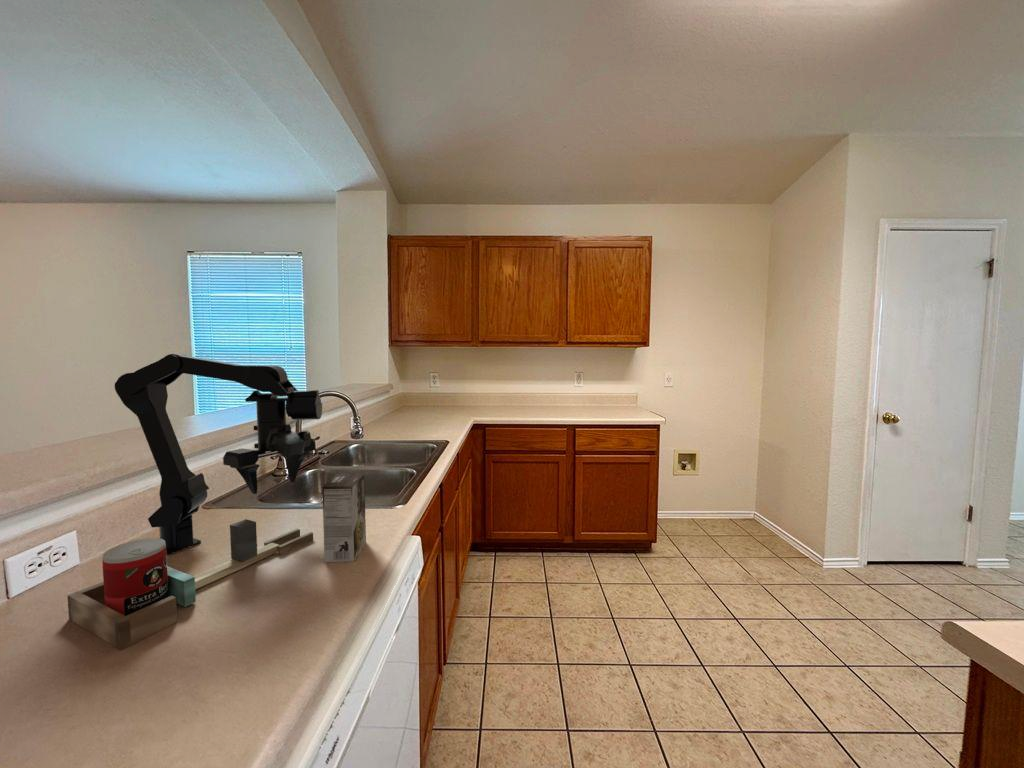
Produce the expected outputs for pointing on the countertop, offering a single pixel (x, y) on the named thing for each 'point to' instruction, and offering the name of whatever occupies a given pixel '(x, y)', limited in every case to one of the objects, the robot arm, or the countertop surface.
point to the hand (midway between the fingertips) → (274, 487)
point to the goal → (118, 617)
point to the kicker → (241, 556)
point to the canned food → (135, 575)
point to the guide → (290, 541)
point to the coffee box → (344, 517)
